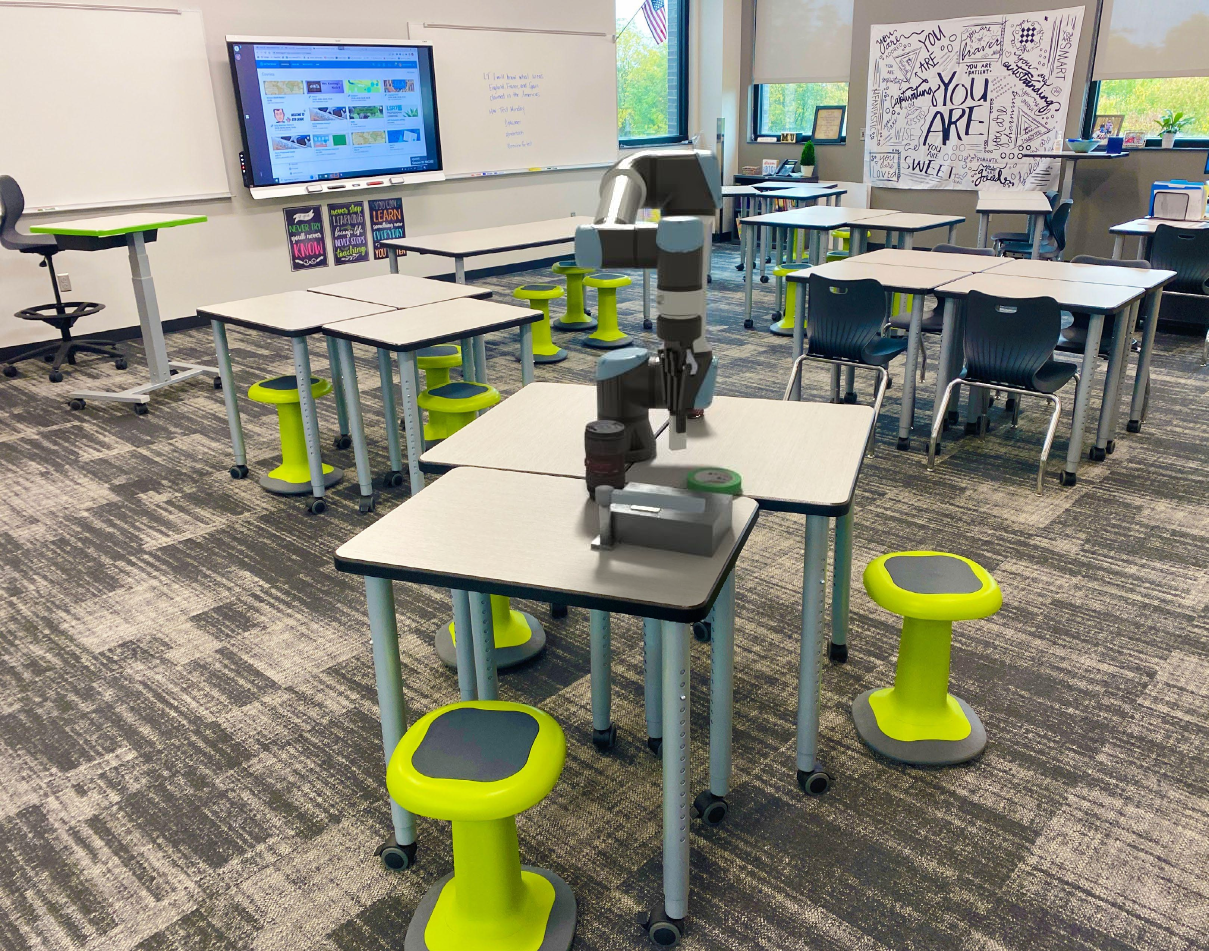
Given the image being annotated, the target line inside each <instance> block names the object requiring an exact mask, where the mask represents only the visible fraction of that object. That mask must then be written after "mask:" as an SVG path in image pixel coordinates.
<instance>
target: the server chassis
mask: <svg viewBox="0 0 1209 951" xmlns="http://www.w3.org/2000/svg"><path fill="white" fill-rule="evenodd" d="M623 490H626V491H636V492H645V493H655V494H664V495H674V496H683V497H692V498H702V499H705V510H704V511H703V513H696V512H687V511H678V510H669V509H660V508H651V507H642V506H633V505H624V504H615V503H613V504H610V505H599V504H598V506H599V507H598V510H599V513H598V514H599V518H598V520H599V521H598V522H599V534H598V535H597V537H595V539H593V540H592V542H591V543H590V549H597V550H603V551H611V552H613V551H614V550H615V548H616V547H617V546H618V545H619V544H624V545H631V546H637V547H638V546H639V547H645V548H651V549H657V550H662V551H663V550H664V551H670V552H677V553H684V554H689V555H695V556H703V557H707V558H708V557H709V558H713V556H714V554H715V553H716V552H717V550H718V548H719V546H720V545H721V543H722V542H723V540H724V539H725V537H726V535H727V534H728V532H729V530H730V528H731V527H732V525H733V505H734V504H733V500H734V495H727V494H719V493H712V492H704V491H696V490H688V489H687V488H682V487H681V488H679V487H672V486H664V485H656V484H647V483H640V482H633V481H632V482H631V481H630V482H628V484H627V485H626V486H625V488H624V489H623Z"/></svg>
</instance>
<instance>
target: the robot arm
mask: <svg viewBox="0 0 1209 951" xmlns="http://www.w3.org/2000/svg"><path fill="white" fill-rule="evenodd" d="M598 192H599V198H600V201H599V203H598V207H597V211H596V212H595V216H594V219H593V223H589V224H580V225H579V226H577V227H576V228H575V232H574V240H573V241H574V245H573V246H574V247H573V248H574V258H575V259H574V260H575V264H576V266H577V267H578V268H579V269H584V270H595V271H601V270H603V271H604V270H606V271H607V270H656V277H657V278H656V281H657V282H656V295H655V297H654V301H655V303H656V312H657V313H658V315H657V317H656V337H657V338H658V339H659V340H662V341H664V342H663V343H662V344H661V345H660V346H659V347H658V348H657V355H655V356H654V355H650V354H651V353H650V352H649V349H647V348H645V347H626V348H620V349H615V350H612V351H608V352H606V353H604V354H602V355H600V356H599V358H598V359H597V361H596V371H595V372H596V373H595V377H594V378H595V380H596V411H597V412H596V416H597V417H596V418H597V419H596V421H600V420H610V421H616V422H619V423H621V424H623V425H624V429H625V433H626V448H625V463H626V464H627V463H635V462H636V463H637V462H641V461H645V460H649V459H650V458H652V457H654V456H656V454H657V439H656V436H655V433H654V431H653V427H652V425H651V423H650V418H649V417H650V410H654V409H655V410H667V411H668V449H669V450H671V451H672V452H673V451H680V450H687V434H688V432H687V431H688V430H687V429H688V418H687V414H690V413H693V412H694V409H704V410H706V409H708V408H709V407H711V405H712V404H713V399H714V393H715V389H716V384H717V377H718V367H719V362H720V360H719V357H718V356H716V355H713V347H712V346H711V345H710V344H709V343H708V342H707V340H706V337H707V336H706V335H707V334H706V332H707V330H706V329H707V296H708V295H707V290H708V257H709V256H708V252H709V250H708V249H709V243H708V242H709V226H710V225H711V223H712V222H713V221H715V219H716V215H717V210H720V209H722V208H723V207H724V203H723V189H722V178H721V168H720V163H719V157H718V155H717V153H716V152H715V151H713V150H706V149H696V148H695V149H676V150H675V149H674V150H673V149H671V150H669V149H668V150H642V151H637V152H634V153H631V154H629V155H627V156H625V157H623V158H622V159H621V158H620V160H618V161H617V162H615V163H613V165H611V166H610V167H609V168H608V169H607V171H605V173H604V174H603V176H602V179H601V181H600V185H599V190H598ZM639 210H660V214H659V215H660V219H659V220H658V222H657V224H655V223H653V224H652V223H651V224H650V223H649V224H636V220H637V216H638V212H639Z"/></svg>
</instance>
